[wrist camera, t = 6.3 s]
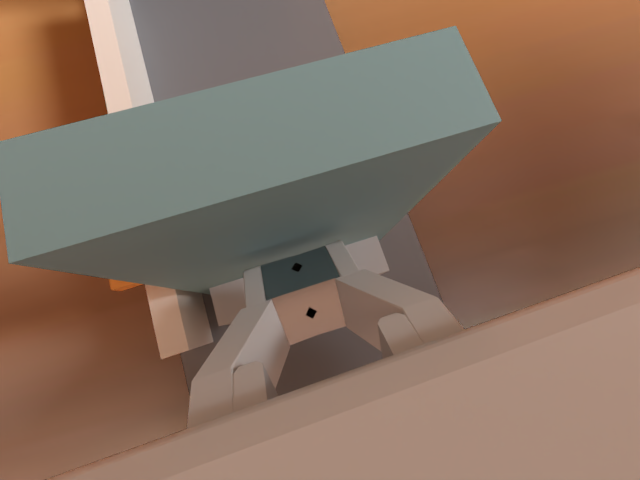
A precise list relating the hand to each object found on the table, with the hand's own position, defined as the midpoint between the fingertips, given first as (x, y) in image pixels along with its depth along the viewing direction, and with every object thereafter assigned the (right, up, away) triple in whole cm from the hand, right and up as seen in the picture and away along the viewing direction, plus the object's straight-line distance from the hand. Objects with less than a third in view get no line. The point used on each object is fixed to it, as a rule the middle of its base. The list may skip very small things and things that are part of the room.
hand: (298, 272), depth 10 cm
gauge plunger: (-2, 0, +5) cm, 6 cm away
